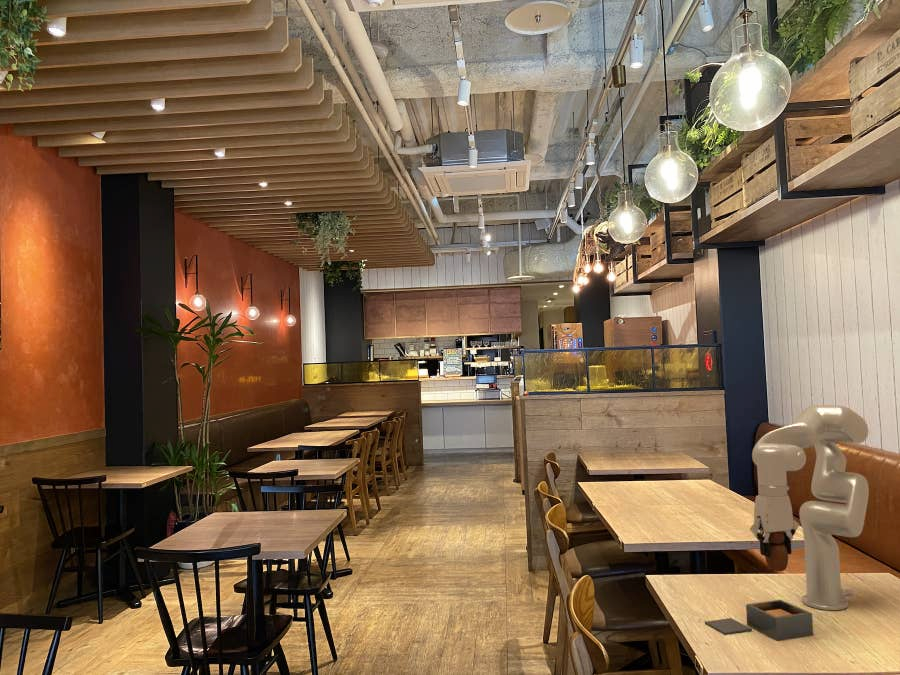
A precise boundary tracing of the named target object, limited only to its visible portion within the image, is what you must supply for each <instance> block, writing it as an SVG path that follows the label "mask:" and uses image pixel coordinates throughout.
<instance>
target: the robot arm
mask: <svg viewBox="0 0 900 675" xmlns="http://www.w3.org/2000/svg"><path fill="white" fill-rule="evenodd" d="M868 436H869V427H868V423H867V422H866V420H865V419H864V418H863V417H862V416H861V415H859V414H858V413H856V412H855V411H854V410H853V409H850V408H848V407H846V406H843V405H837V404H835V405H830V404H829V405H828V404H827V405H825V404H813V405H809V406H807V407H806V408H805V409H804V410H802V411H801V413H800V414H799V415H798V416H797V417H796V418H795V419H794V421H793V422H792V423H791V424H788V425H785V426H782V427H780V428H777V429H774V430H771V431H769V432H767V433H766V434H764V435H763V436H761V438H760V439H759V440H758V441H757V442H756V443H755V445H754V447H753V449H752V453H751V457H752V462H753V463H754V464H755V465H756V468H757V469H756V471H757V487H758V495H756V497H755V499H754V500H755V501H754V510H753V524H752V525H751V526H750V528H749V531H750V532H751V533H752V534H753V536H754V537H755V538H756V539H757V541H759V550H760V553H759V554H760V555H762V556H764V557H765V556H766V557H770V544H769V543H768V538H769V535H770V533H773V532H778V531H780V532H783V534H784V542H783V543H782V544H784V545H785V547H786V548H787V552H788V555H791V554H792V552H793V551H792V540H793V539H794V535H795V534H796V533H797V532H796V531H798V528H799V527H800V524H801V527H802V528H801V529H802V534H803V542H804V544H803V545H804V560H805V562H804V564H805V579H806V580H805V581H806V582H805V583H806V594H804V595H802V596H801V602H802V603H803V604H804V605H806V606H808V607H811V608H814V609H818V610H824V611H841V610H845V608H846V609H847V608H848V606H849V605H848V602H847V600H846V599H845V598H846V597H852V596H854V594H855V592H854V591H853V589H851V588H849V589H843V588H842V583H841V580H842V579H841V565H840V548H839V545H838V543H837V541H836V540H835V538H834V537H833V535H835V536H841V537H846V538H857V537H859V536H860V535H861V534H862V533H863V532H862V531H863V528H864V525H865V521H866V520H865V519H866V513H867V508H868V500H869V496H870V495H869V494H870V493H869V492H870V490H869V483H868V480H867V478H866V477H865V476H864V475H862V474H860V473H856V472H850V471H848V472H847V471H846V466H847V458H846V456H845V455H844V452H842V450H841V449H840V448H839V446H837V444H836V443H839V444H840V443H842V444H861V443H864V442H865V441H866V440H867V439H868ZM810 447H814V450H815V453H816V457H815V458H816V459H815V464H814V465H815V466H814V469H813V474H812V479H811V484H810V485H811V489H810V490H811V494H812V495H813V497H815V498H817V499H820V501H819V500H809V501H808V500H807V501H805V502H804V503H802V505H801V506H800V508H799V520H800V524H799V523H798V522H797V521H796V520H795V519H794V516H793V515H794V514H793V508H792V503H791V499H790V496H789V495H788V491H789V490H790V486H789V485H788V480H787V472H796V471H799V470H801V469H803V468H804V466H805V465H806V463H807V462H806V461H807V455H806V453H805V451H804V449H807V448H810ZM821 500H822V501H821ZM823 500H824V501H823ZM836 502H838V503H836ZM843 503H844V504H843Z"/></svg>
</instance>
